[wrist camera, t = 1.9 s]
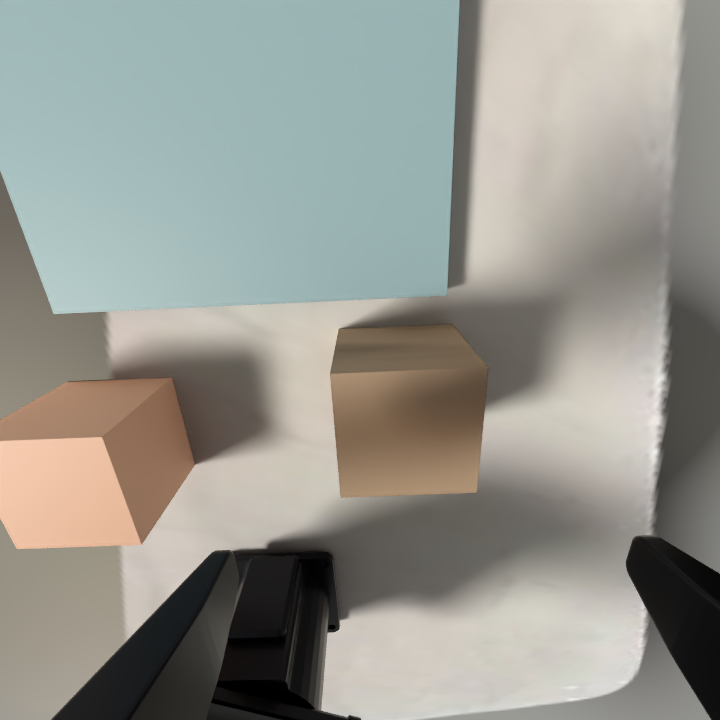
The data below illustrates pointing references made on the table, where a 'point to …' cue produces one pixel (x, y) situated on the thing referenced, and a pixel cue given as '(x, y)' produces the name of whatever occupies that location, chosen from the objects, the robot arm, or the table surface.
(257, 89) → the board
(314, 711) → the robot arm
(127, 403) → the terracotta cube
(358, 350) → the walnut cube
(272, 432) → the table surface
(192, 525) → the table surface
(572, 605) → the table surface
